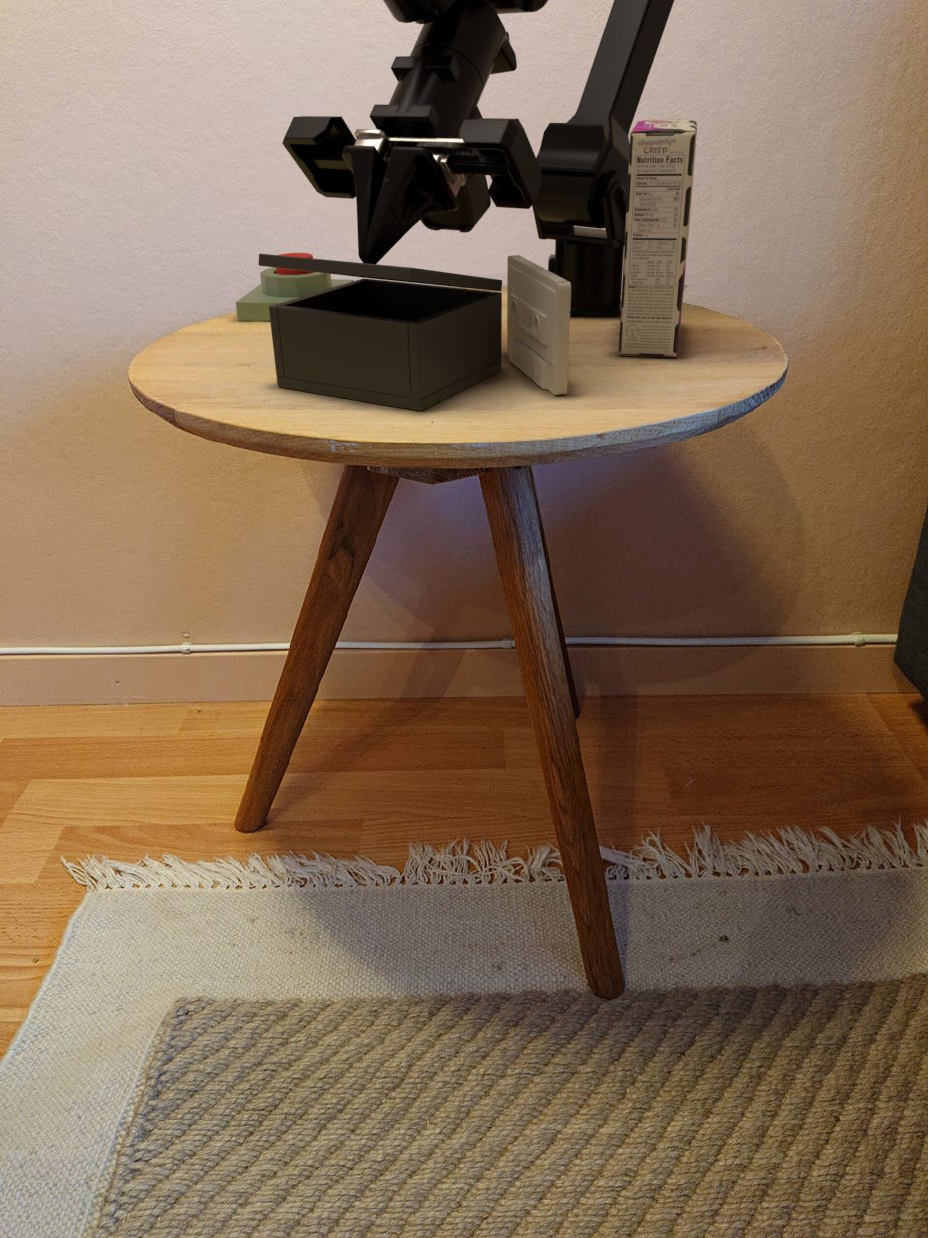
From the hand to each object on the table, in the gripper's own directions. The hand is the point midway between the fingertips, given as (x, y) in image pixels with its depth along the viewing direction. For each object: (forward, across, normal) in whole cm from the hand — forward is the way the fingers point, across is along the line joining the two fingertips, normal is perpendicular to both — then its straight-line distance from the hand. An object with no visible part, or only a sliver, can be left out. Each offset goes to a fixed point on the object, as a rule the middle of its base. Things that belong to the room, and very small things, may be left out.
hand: (366, 261), depth 67 cm
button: (-9, +22, -17) cm, 29 cm away
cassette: (0, -9, -12) cm, 15 cm away
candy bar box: (-9, -13, -22) cm, 27 cm away
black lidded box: (+4, 0, -8) cm, 9 cm away
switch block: (-7, +22, -19) cm, 30 cm away
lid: (0, 0, -2) cm, 2 cm away
